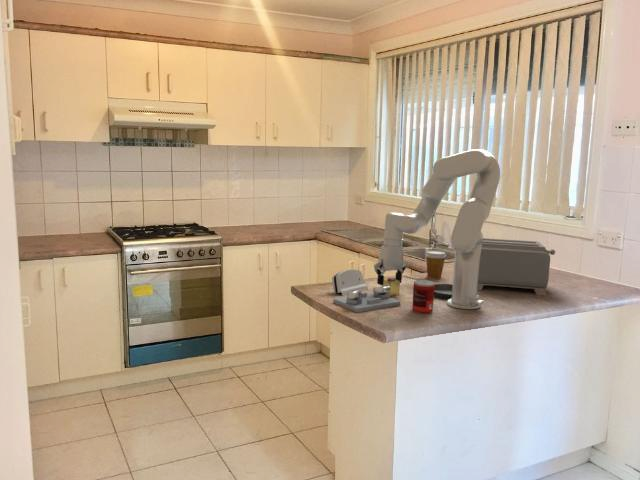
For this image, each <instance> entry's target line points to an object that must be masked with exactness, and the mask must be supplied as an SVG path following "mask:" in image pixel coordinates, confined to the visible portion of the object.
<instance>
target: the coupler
mask: <svg viewBox="0 0 640 480" xmlns="http://www.w3.org/2000/svg"><path fill="white" fill-rule="evenodd" d="M400 284H401V283H400V281H399V280H396V279H395V278H394V277H387V278H384V283H383V285H381V286H389V287H390V292H389V293H387V294H389V297H394V296H400V288H401V287H400V286H401V285H400Z"/></svg>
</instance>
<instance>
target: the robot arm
mask: <svg viewBox="0 0 640 480" xmlns="http://www.w3.org/2000/svg"><path fill="white" fill-rule="evenodd" d="M473 174H476V178H475V181H474V183H473V186H472V189H471V193H470V196H469V199H467V200H466V201H464V203H463V204H462V206H461V207H460V209H459V211H458V213H457V218H456V220H455V223H454V226H453V230H452V233H451V236H450V242H451V247H452V249H454V250H455V252H454V262H453V273H452V275H453V276H452V298H451V299H446V300H447V301H446V304H447V305H448V306H450V307H452V308H455V309H461V310H475V309H479V308H481V307H482V306H483V305H484V303H485V302H484V300H481V299H480V295H478V291H479V290H478V278H479V267H480V256H481V249H482V243H483V238H484V236H483V233H482V228H483V225H484V223H485V222H486V220H487V219H488V218H489V217H490V213H491V210H492V206H493V203H494V200H495V197H496V193H497V190H498V187H499V183H500V179H501V168H500V164H499V162H498V160H497V159H496V158H495V156H494V155H492V153H490V152H488V151H487V150H484V149H479V148H477V149H470V150H467V151H462V152H459V153H456V154H452V155H448V156H443V157H441V158H438V159H437V160H436V161H435V162H434V163H433V166H432V174H431V175H430V177H429V179H428V180H427V182H426V183H425V185H424V186H423V188H422V191H421V192H422V194H421V195H422V196H421V199H420V201H419V203H418V205H417V206H416V208H415V209H414V211H413V212H412V213H411V214H403V213H402V212H398V211H389V212H387V213H386V214H385V221H384V232H383V245H380V251H379V253H378V254H379V255H378V260H377V262H376V263H374V264H373V268H374V271H375V273H376V275H377V278H376V279H377V281H376V282H377V283H376V284H378V285H380V286H382V285H383V283H384V279H385V275H384V274H385V273H386V272H391V271H396V272H395V279H396V280H399V281H400V284H402V279H403V274H404V271H405V270H406V269H407V266H408V262H407V261H406V260H404V247H403V243H404V239H403V236H404V233H405V234H409V235H410V234H411V235H412V234H416V233H418V232H421V231H422V230H424V229H425V228H426V227H427V225H428V224H429V222H430V221H431V219H432V217H434V214H435V213H436V211H437V209H438V208H439V206H440V204H441V202H442V200H443V199H444V197H445V195H446V194H447V192H448V191H449V189H450V188H451V187H452V185H453V184H454V182H455V181H456V179H458V178H462V177H464V176H469V175H473Z"/></svg>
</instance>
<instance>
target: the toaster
mask: <svg viewBox="0 0 640 480" xmlns="http://www.w3.org/2000/svg"><path fill="white" fill-rule="evenodd" d="M555 254H556V250H555V249H550V250H548V249H547V248H546V247H545V246H544V245H543V244H542V243H541V242H540V241H537V240H536V241H535V240H520V239H519V240H516V239H505V238H504V239H503V238H490V237H489V238H486V237H483V243H482V249H481V256H480V267H479V278H478V290H477V291H482V290H483V287H484V286H493V287H494V286H495V287H506V288H508V287H509V288H516V289H517V288H519V289H520V288H521V289H529V290H530V289H532V290H533V291H534V293H535V295H537V296H548V294H547V291H546V289H547V287H548V284H549V279H550V265H551V256H553V255H555Z"/></svg>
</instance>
